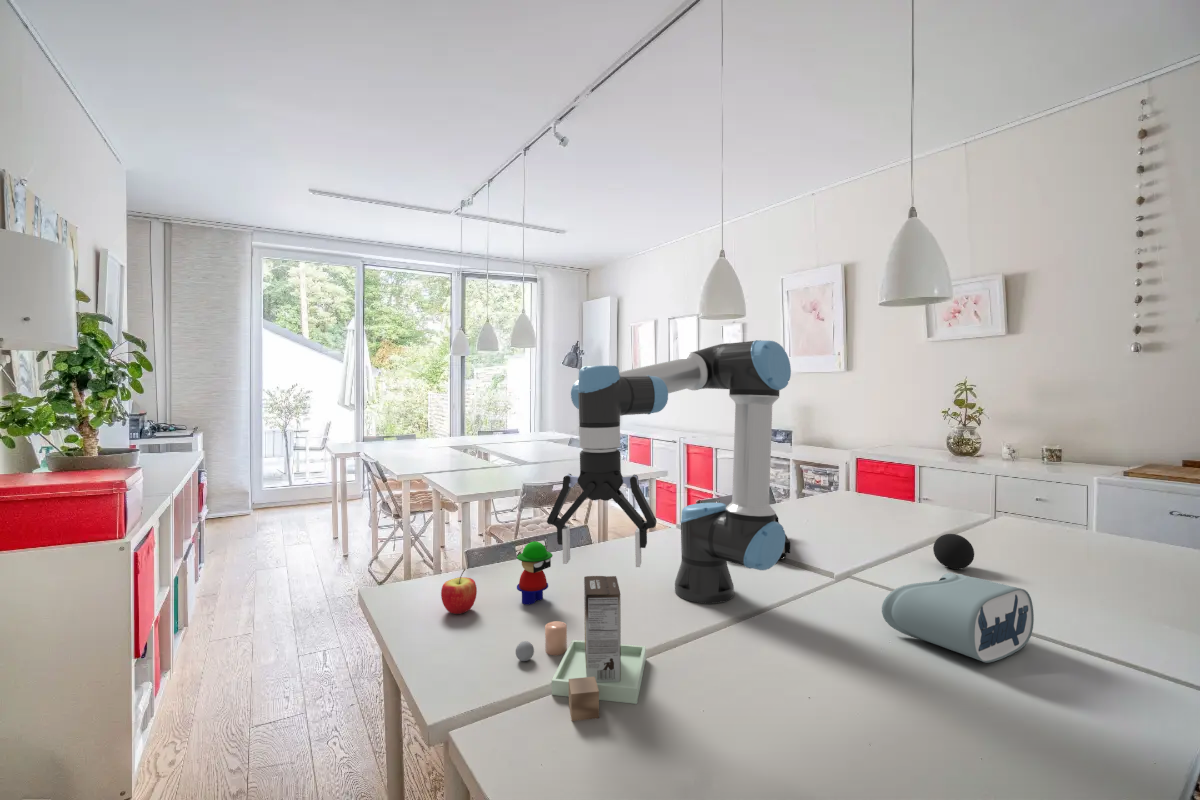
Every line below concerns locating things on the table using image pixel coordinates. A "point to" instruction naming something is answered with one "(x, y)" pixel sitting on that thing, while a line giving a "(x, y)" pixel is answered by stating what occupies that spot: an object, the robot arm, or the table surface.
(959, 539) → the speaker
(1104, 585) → the table surface
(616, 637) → the coffee box
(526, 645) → the grey ball
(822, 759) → the table surface
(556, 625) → the peach rounded cylinder
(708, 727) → the table surface
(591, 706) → the walnut cube
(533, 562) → the toy
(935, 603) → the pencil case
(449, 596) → the apple
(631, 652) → the tray
